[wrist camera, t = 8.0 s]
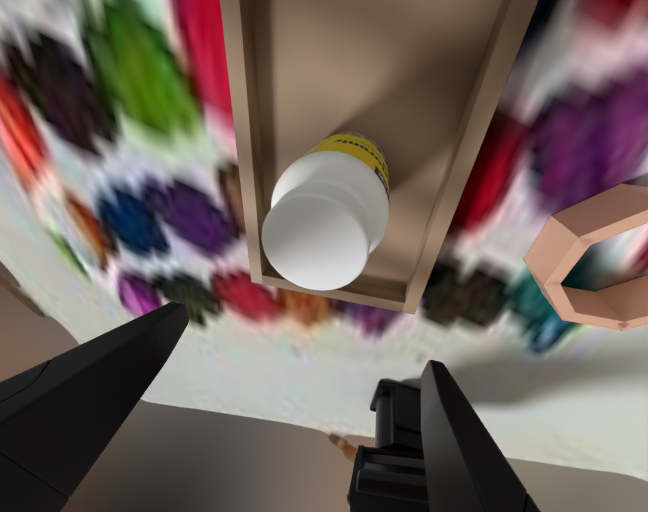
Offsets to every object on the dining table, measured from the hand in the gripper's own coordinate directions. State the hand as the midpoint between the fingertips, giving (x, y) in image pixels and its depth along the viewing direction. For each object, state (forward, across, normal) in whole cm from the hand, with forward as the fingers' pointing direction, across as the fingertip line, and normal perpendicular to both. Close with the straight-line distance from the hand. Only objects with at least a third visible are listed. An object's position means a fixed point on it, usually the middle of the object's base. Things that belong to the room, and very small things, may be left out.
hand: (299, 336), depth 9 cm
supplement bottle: (+12, 0, -3) cm, 12 cm away
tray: (+12, 0, -3) cm, 13 cm away
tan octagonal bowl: (+13, -18, 0) cm, 22 cm away
